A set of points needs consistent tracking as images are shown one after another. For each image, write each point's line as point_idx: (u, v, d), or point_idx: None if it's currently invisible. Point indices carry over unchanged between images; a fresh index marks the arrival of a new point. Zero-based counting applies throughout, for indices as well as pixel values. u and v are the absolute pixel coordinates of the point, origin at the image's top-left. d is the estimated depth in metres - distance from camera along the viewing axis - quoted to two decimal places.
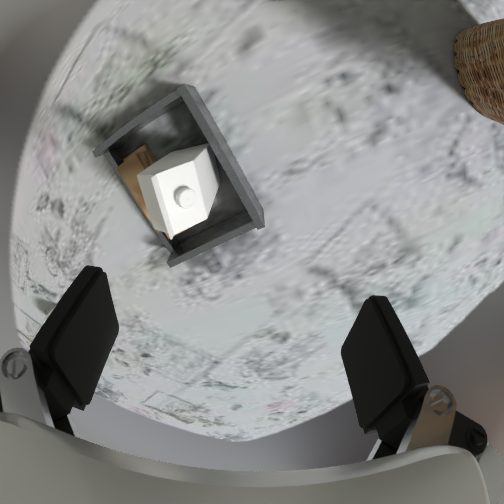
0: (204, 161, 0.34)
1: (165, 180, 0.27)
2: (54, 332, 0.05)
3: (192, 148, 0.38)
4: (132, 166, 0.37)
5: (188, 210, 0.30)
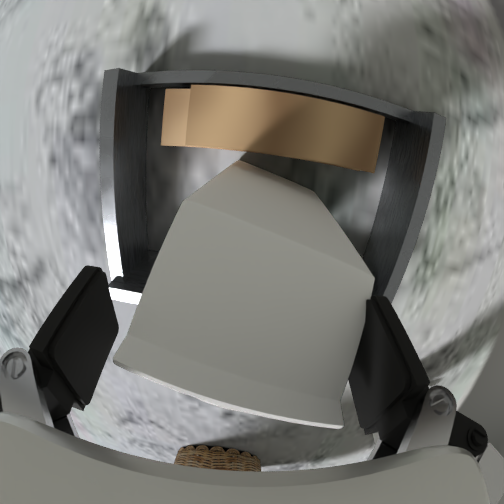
0: None
1: None
2: (54, 332, 0.05)
3: None
4: (360, 147, 0.16)
5: None
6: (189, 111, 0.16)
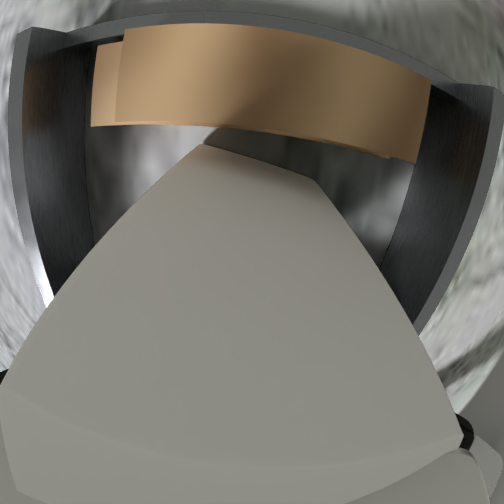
0: None
1: None
2: None
3: None
4: (398, 122, 0.09)
5: None
6: (120, 68, 0.08)
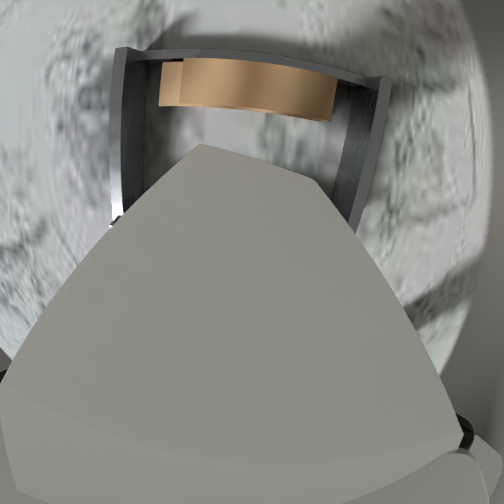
0: None
1: None
2: None
3: None
4: (318, 101, 0.20)
5: None
6: (182, 77, 0.19)
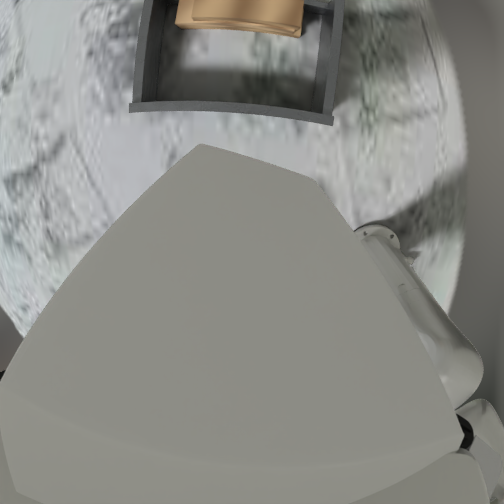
0: None
1: None
2: None
3: None
4: (290, 14, 0.22)
5: None
6: (194, 2, 0.21)
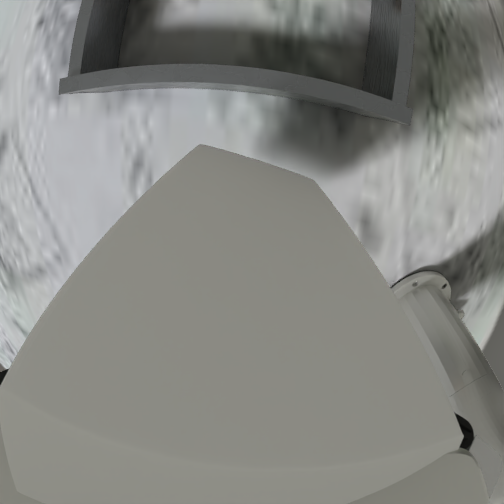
0: None
1: None
2: None
3: None
4: None
5: None
6: None
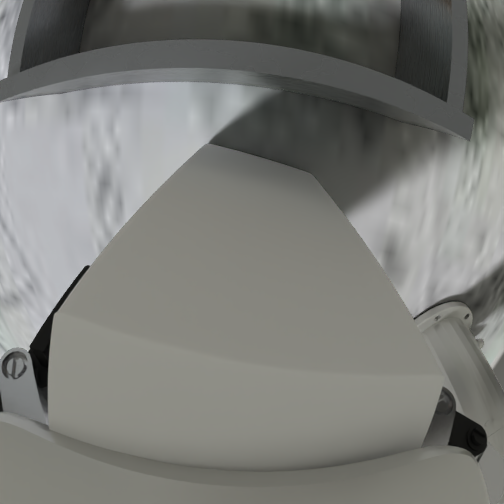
0: None
1: None
2: None
3: None
4: None
5: None
6: None
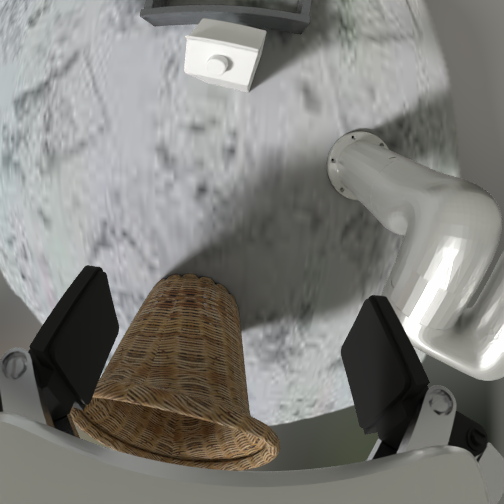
0: (237, 86, 0.29)
1: (245, 56, 0.21)
2: (54, 332, 0.05)
3: (253, 76, 0.34)
4: None
5: (202, 60, 0.22)
6: None
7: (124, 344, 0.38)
